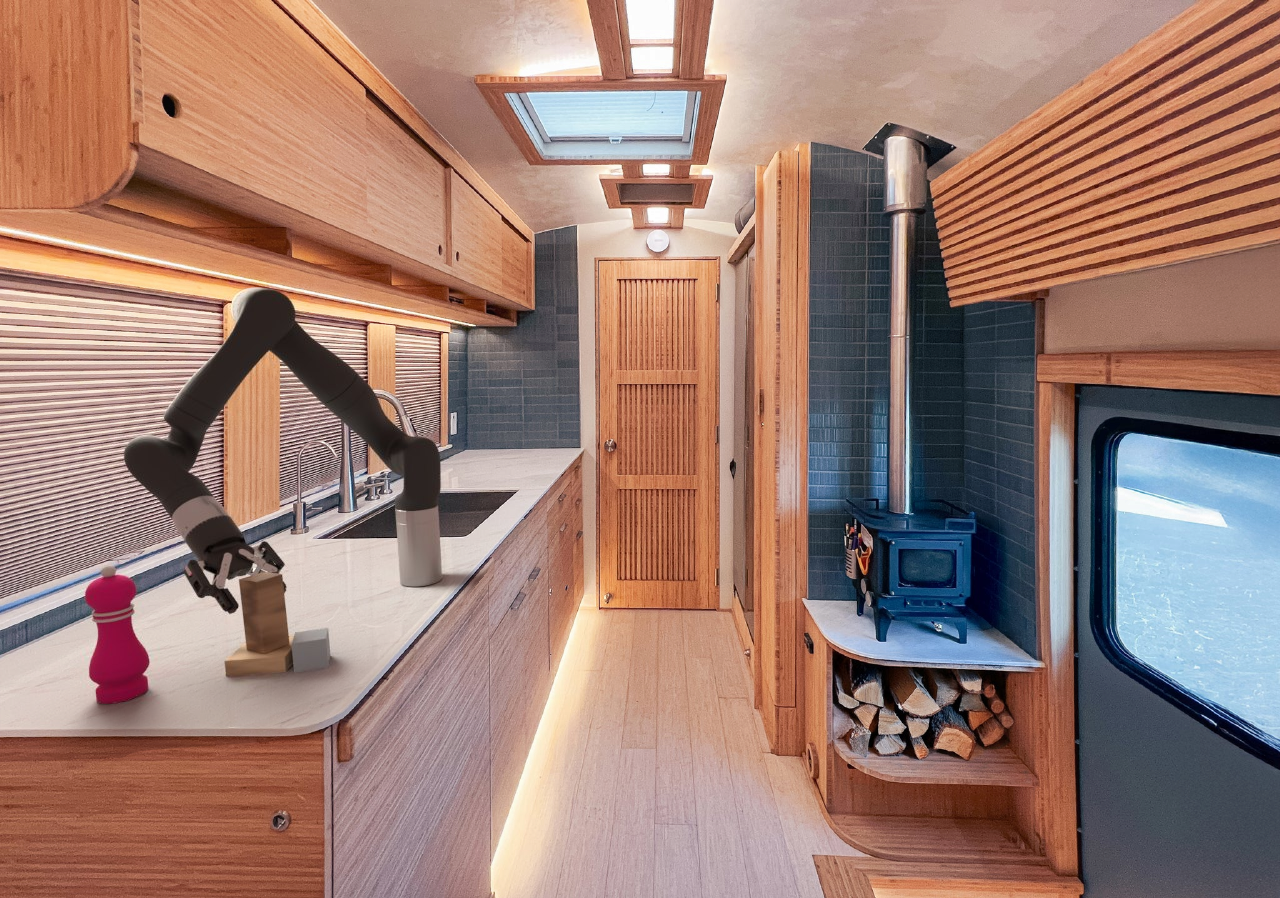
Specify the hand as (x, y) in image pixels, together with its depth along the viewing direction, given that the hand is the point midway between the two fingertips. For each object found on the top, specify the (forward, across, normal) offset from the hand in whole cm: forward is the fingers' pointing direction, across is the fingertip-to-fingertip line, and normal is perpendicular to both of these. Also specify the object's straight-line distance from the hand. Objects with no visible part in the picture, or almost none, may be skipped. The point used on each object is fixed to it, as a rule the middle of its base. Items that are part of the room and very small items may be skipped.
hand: (259, 601), depth 111 cm
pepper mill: (+1, -16, +14) cm, 22 cm away
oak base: (+8, 0, +7) cm, 11 cm away
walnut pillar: (+6, 0, +5) cm, 8 cm away
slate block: (+13, +2, +1) cm, 14 cm away
